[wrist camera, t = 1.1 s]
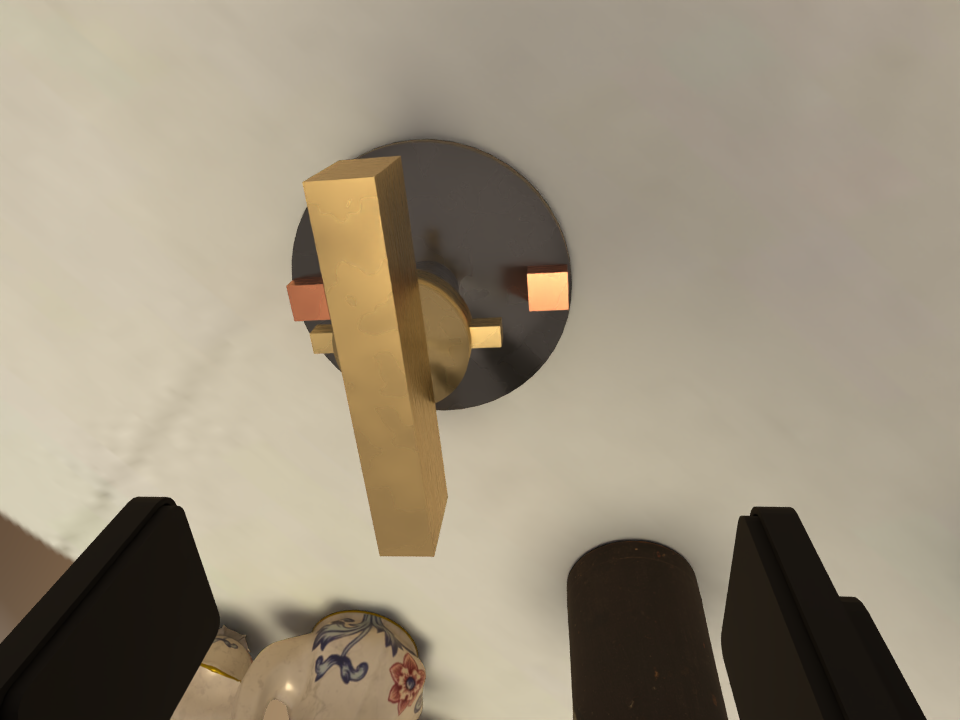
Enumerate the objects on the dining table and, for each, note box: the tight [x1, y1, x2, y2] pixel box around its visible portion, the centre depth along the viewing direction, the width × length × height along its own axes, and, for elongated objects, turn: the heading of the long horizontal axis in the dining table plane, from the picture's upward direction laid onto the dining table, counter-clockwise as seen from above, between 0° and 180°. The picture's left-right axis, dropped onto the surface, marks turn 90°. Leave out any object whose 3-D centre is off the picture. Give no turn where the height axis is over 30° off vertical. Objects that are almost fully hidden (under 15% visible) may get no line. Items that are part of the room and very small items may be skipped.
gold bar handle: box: [303, 156, 503, 557], centre depth 27 cm, size 9×16×6 cm, turn 5°
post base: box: [286, 139, 572, 410], centre depth 33 cm, size 15×15×6 cm
